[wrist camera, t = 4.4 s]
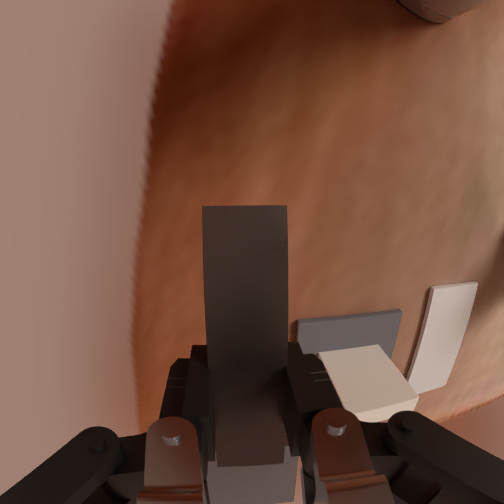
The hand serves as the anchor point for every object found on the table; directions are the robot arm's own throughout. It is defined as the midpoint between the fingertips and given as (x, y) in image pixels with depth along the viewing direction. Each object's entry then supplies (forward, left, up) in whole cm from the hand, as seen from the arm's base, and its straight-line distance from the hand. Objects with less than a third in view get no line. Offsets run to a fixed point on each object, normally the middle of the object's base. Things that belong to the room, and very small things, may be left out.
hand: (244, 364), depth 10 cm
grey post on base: (+1, 0, -1) cm, 1 cm away
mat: (+11, +10, -13) cm, 20 cm away
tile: (+9, +10, -12) cm, 18 cm away
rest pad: (+10, +22, -13) cm, 27 cm away
